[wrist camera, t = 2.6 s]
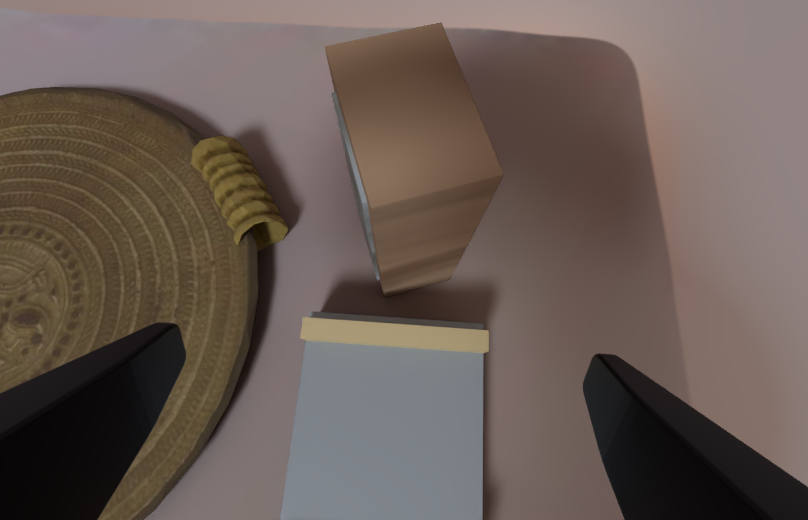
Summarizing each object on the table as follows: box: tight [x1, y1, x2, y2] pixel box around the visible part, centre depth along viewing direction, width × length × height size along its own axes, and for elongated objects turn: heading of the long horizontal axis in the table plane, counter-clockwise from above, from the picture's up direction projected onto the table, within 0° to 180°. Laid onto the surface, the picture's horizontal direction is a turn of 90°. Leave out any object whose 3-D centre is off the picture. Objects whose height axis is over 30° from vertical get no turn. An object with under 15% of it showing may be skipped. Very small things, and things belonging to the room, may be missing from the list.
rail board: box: [280, 311, 489, 520], centre depth 18 cm, size 12×9×3 cm
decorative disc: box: [0, 87, 288, 520], centre depth 21 cm, size 29×3×30 cm
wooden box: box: [325, 23, 504, 298], centre depth 18 cm, size 6×4×12 cm
